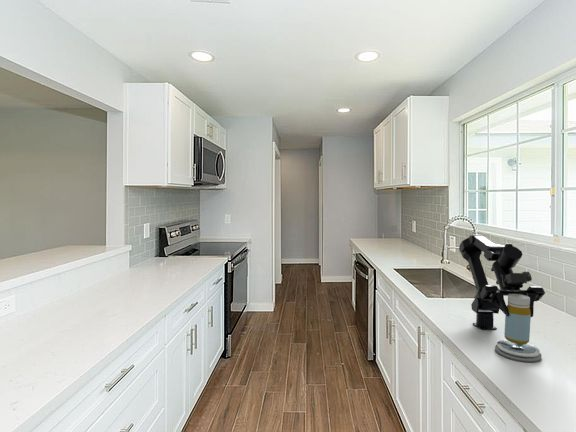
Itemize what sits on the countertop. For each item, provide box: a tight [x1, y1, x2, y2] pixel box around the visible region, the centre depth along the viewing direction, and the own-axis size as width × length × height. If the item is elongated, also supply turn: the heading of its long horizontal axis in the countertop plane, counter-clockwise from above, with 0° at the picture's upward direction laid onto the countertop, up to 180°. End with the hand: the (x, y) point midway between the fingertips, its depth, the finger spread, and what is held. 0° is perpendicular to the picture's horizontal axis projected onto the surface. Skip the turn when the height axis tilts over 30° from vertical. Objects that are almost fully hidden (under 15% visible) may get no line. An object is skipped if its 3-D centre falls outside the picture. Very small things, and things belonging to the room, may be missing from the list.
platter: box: [496, 339, 541, 358], centre depth 120 cm, size 12×12×1 cm
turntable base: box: [494, 344, 542, 364], centre depth 120 cm, size 13×13×7 cm
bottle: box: [503, 294, 532, 344], centre depth 119 cm, size 7×7×15 cm
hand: (520, 316), depth 118 cm, fingers closed on bottle, 7 cm apart
